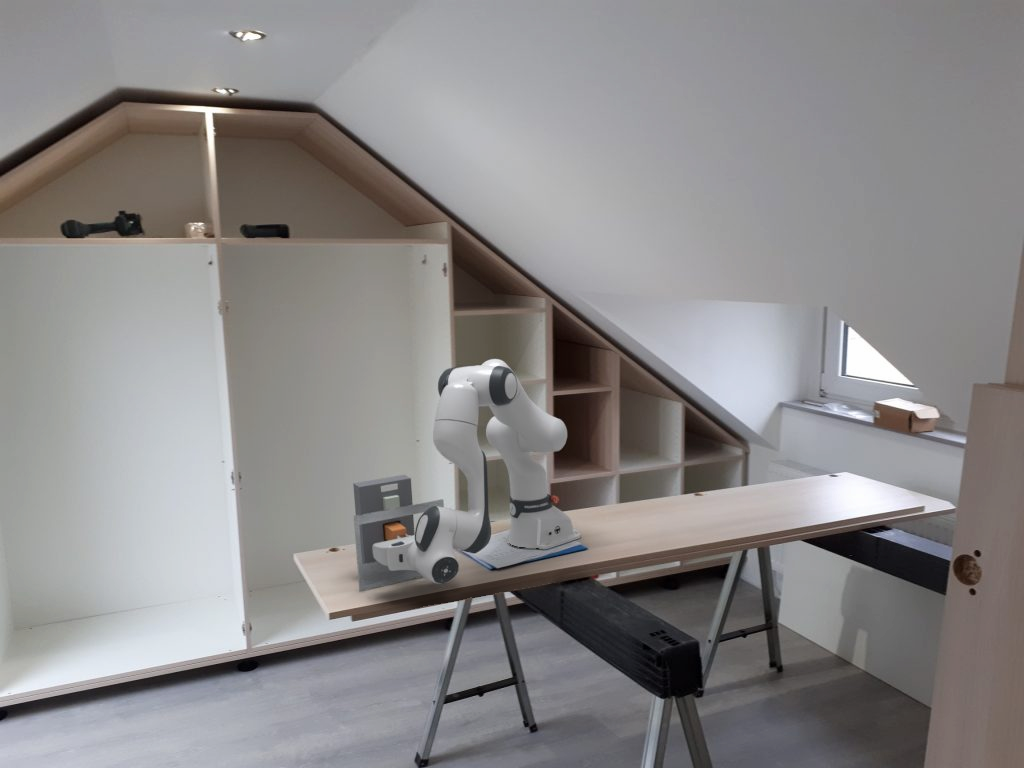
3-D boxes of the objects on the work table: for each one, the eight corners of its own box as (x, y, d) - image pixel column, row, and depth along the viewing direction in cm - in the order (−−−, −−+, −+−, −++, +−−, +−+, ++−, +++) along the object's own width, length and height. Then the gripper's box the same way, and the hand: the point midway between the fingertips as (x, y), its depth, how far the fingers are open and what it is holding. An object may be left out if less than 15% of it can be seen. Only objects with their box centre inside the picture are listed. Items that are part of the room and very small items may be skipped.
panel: (419, 569, 237) (413, 479, 233) (368, 581, 230) (361, 488, 226) (410, 562, 243) (404, 474, 239) (360, 573, 236) (353, 483, 232)
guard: (447, 570, 235) (443, 499, 232) (359, 591, 223) (354, 516, 220) (436, 563, 241) (432, 493, 239) (351, 582, 230) (345, 509, 227)
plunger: (407, 542, 230) (406, 528, 229) (393, 545, 228) (392, 531, 227) (398, 535, 236) (397, 521, 235) (384, 538, 234) (383, 524, 234)
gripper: (456, 532, 220) (436, 519, 232) (382, 548, 211) (364, 533, 223) (458, 555, 221) (437, 541, 233) (384, 572, 212) (366, 556, 224)
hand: (401, 537), depth 228 cm, fingers closed
